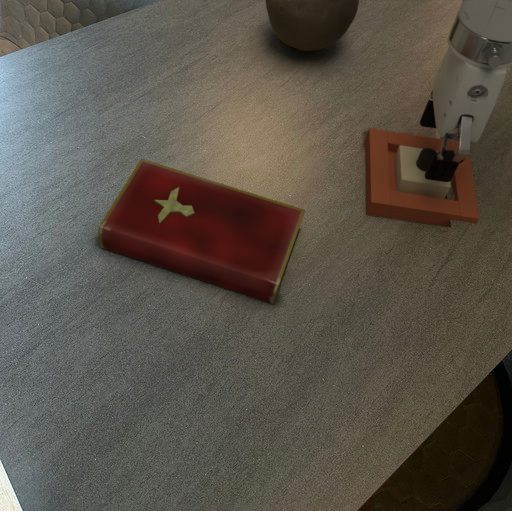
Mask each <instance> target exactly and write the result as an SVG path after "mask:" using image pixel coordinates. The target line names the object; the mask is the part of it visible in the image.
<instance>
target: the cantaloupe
mask: <svg viewBox="0 0 512 511" xmlns="http://www.w3.org/2000/svg"><path fill="white" fill-rule="evenodd" d="M359 3H360V0H265V7H266V11H267V16H268V20H269V23H270V26H271V28H272V30H273V32H274V34H275V35H276V36H277V38H278V39H279V40H280V41H281V43H284V44H286V45H287V47H291V48H295V49H296V50H297V51H301V52H312V51H318V50H319V51H321V50H323V49H325V48H328V47H330V46H331V45H333V44H335V43H336V42H337V41H339V40H340V39H342V37H343V36H344V35H346V32H347V31H348V30H349V28H350V27H351V25H352V23H353V22H354V20H355V18H356V16H357V13H358V9H359Z"/></svg>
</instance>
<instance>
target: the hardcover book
mask: <svg viewBox="0 0 512 511" xmlns="http://www.w3.org/2000/svg"><path fill="white" fill-rule="evenodd" d="M305 214H306V209H304V208H300V207H297V206H294V205H291V204H287V203H284V202H282V201H279V200H275V199H272V198H268V197H266V196H262V195H259V194H255V193H253V192H250V191H246V190H243V189H239V188H237V187H233V186H231V185H227V184H224V183H220V182H217V181H214V180H212V179H208V178H205V177H202V176H198V175H194V174H192V173H189V172H186V171H182V170H179V169H176V168H174V167H170V166H166V165H164V164H160V163H156V162H154V161H151V160H148V159H144V158H140V160H139V161H138V163H137V164H136V166H135V168H134V169H133V170H132V172H131V174H130V176H129V177H128V179H127V180H126V182H125V184H124V185H123V187H122V189H121V190H120V192H119V194H118V195H117V197H116V198H115V200H114V201H113V203H112V205H111V207H110V208H109V209H108V211H107V212H106V215H105V216H104V217H103V220H102V221H101V222H100V224H99V226H98V230H97V233H98V243H99V244H98V245H99V247H100V248H101V249H104V250H107V251H110V252H113V253H116V254H120V255H123V256H125V257H129V258H131V259H134V260H138V261H141V262H144V263H147V264H150V265H153V266H156V267H158V268H162V269H165V270H167V271H171V272H173V273H177V274H179V275H183V276H186V277H188V278H192V279H195V280H199V281H201V282H205V283H208V284H211V285H214V286H216V287H220V288H224V289H226V290H229V291H232V292H235V293H239V294H240V295H244V296H247V297H250V298H254V299H257V300H259V301H263V302H265V303H269V304H271V305H275V303H276V300H277V296H278V294H279V291H280V288H281V286H282V282H283V280H284V276H285V275H286V270H287V268H288V265H289V262H290V259H291V256H292V254H293V251H294V248H295V246H296V242H297V239H298V237H299V234H300V230H301V224H302V222H303V220H304V216H305Z"/></svg>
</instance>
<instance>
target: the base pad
mask: <svg viewBox="0 0 512 511" xmlns="http://www.w3.org/2000/svg"><path fill="white" fill-rule="evenodd" d="M440 140H441V138H435V137H429V136H423V135H416V134H411V133H404V132H397V131H391V130H387V129H386V130H385V129H381V128H380V129H379V128H373V127H369V128H368V130H367V134H366V137H365V140H364V155H365V156H364V159H365V166H364V167H365V211H366V212H365V214H366V215H367V216H372V217H380V218H386V219H393V220H399V221H406V222H410V223H411V222H412V223H420V224H426V225H432V226H438V227H444V228H452V222H451V221H455V222H456V221H458V222H464V223H470V224H477V223H478V222H479V220H480V219H481V218H480V212H479V206H478V200H477V193H476V187H475V182H474V181H475V180H474V175H473V170H472V163H471V156H470V154H469V155H468V156H467V157H466V158H465V160H464V161H463V162H462V163H459V165H458V167H457V169H456V171H455V173H454V175H453V177H452V179H451V181H452V190H453V196H454V199H449V198H448V194H447V195H446V197H445V199H441V198H434V197H428V196H421V195H415V194H408V193H402V192H396V179H395V162H394V157H395V155H396V153H397V150H398V148H399V145H403V146H409V147H415V148H422V149H425V148H430V149H433V150H435V151H438V149H439V144H440ZM456 141H457V140H450V139H448V141H447V146H446V150H454V148H455V146H456Z"/></svg>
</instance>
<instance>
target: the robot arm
mask: <svg viewBox="0 0 512 511" xmlns="http://www.w3.org/2000/svg"><path fill="white" fill-rule="evenodd" d="M446 42H447V46H448V48H447V49H446V52H445V54H444V57H443V58H442V61H441V63H440V66H439V68H438V70H437V73H436V75H435V78H434V82H433V85H432V89H431V91H430V95H429V96H430V97H429V98H430V99H428V100H427V103H426V105H425V107H424V110H423V113H422V115H421V118H420V119H419V126H420V127H423V128H430V129H436V132H437V134H438V136H439V137H440V139H441V140H440V144H439V149H438V153H434V155H433V157H432V159H431V162H430V164H429V166H428V168H427V170H426V172H425V179H427V180H434V181H441V182H450V183H451V181H452V177H453V175H454V173H455V171H456V169H457V167H458V165H459V163H462V162H463V161H464V160H465V158H466V157H467V156H468V155H469V156H470V152H471V144H476V143H477V142H479V140H480V138H481V137H482V134H483V132H484V130H485V129H486V126H487V124H488V121H489V119H490V117H491V115H492V112H493V110H494V108H495V106H496V104H497V101H498V98H499V96H500V94H501V91H502V88H503V85H504V82H505V79H506V75H507V72H508V67H510V66H511V65H512V0H462V1H461V4H460V6H459V9H458V11H457V14H456V16H455V19H454V20H453V23H452V26H451V29H450V31H449V32H448V36H447V41H446ZM454 129H457V131H456V134H455V133H451V132H452V131H453V130H454ZM448 140H453V141H456V146H455V148H454V150H446V146H447V141H448Z"/></svg>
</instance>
